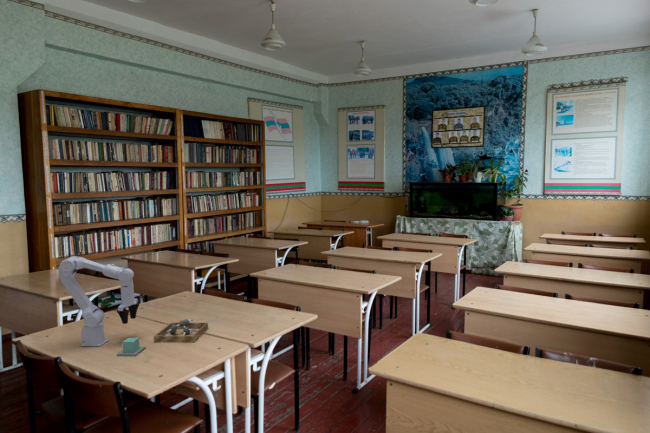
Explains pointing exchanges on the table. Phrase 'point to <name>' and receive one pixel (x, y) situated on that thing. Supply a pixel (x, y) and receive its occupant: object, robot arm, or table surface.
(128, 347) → the cube
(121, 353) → the mat
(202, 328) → the display frame
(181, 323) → the molecule model
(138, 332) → the table surface
